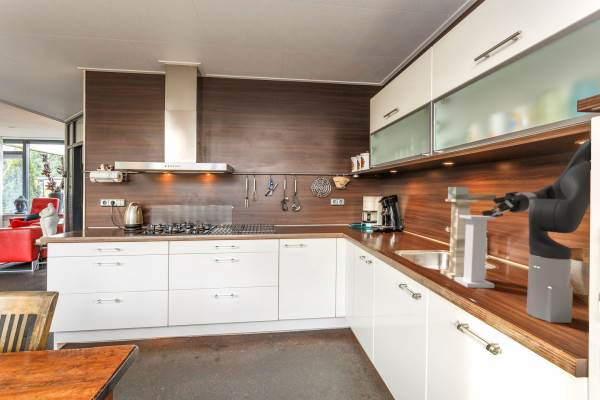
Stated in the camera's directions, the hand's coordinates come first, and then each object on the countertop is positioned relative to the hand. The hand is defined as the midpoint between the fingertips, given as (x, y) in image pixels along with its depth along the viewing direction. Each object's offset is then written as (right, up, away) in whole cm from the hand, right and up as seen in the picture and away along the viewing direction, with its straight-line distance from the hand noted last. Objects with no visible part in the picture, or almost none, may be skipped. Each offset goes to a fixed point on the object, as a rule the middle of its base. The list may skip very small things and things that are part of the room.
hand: (488, 207), depth 126 cm
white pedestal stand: (-11, -29, -8) cm, 32 cm away
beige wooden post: (-11, -29, +3) cm, 31 cm away
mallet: (-6, +3, +2) cm, 7 cm away
